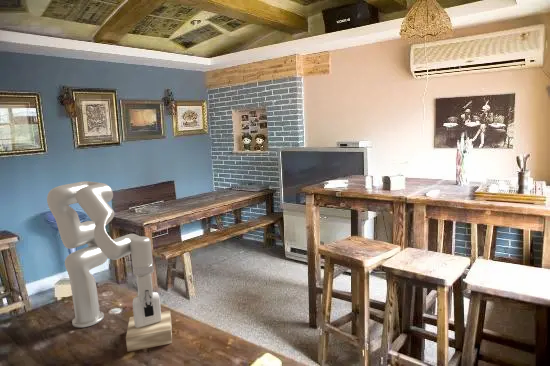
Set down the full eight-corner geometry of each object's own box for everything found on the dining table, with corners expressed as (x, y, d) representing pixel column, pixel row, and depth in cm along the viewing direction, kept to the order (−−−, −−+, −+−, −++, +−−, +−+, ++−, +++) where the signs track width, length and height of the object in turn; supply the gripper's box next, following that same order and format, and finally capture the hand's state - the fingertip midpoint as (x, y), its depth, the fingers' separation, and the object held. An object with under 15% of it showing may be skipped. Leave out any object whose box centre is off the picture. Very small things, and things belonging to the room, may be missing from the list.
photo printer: (160, 316, 155) (157, 288, 153) (163, 321, 152) (160, 292, 149) (133, 324, 150) (130, 295, 148) (136, 329, 146) (132, 299, 144)
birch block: (131, 331, 157) (129, 317, 156) (171, 323, 161) (170, 310, 160) (127, 352, 142) (125, 337, 141) (172, 344, 146) (170, 329, 145)
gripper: (131, 263, 153) (135, 303, 156) (134, 278, 138) (139, 323, 140) (150, 260, 156) (155, 299, 159) (156, 274, 141) (160, 317, 144)
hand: (147, 310), depth 150 cm, fingers open, 9 cm apart
